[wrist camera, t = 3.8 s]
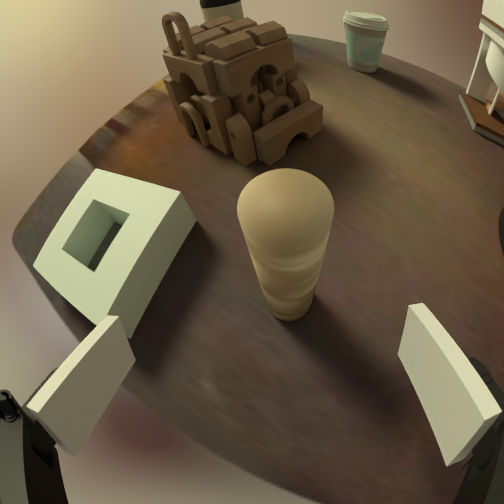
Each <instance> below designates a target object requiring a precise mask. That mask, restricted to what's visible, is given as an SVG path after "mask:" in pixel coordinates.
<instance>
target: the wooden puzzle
mask: <svg viewBox="0 0 504 504" xmlns="http://www.w3.org/2000/svg"><path fill="white" fill-rule="evenodd" d="M172 21H173V22H175V24H176V25H177V27H178V30H179V33H177V34H175V32H174V28H173V25H172ZM162 26H163V29H164V32H165V35H166V38H167V41H168V45H169V47H167V48H165V49H163V52H164V54H163V58H164V61H165V63H166V66H167V69H168V71H169V74H170V76H168V77H166V78H164V79H163V80H164V83H165V85H166V88H167V90H168V93H169V95H170V98H171V100H172V103H173V105H174V108H175V110H176V113H177V115H178V118H179V120H180V122H181V123H182V124H184V126H185V128H186V131H187V133H188V135H189V136H191V137H192V136H193V135H195V134H196V133H195V131H196V130H197V132H198V135H199V138H200V140H201V143H202V145H203V146H204V147H207V146H209V145H210V144H212V145H213V146H214V147H216V148H217V149H219V150H220V151H221V152H223V153H224V154H226V155H229V154H230V153H232V152H233V154H234V158H235V159H236V160H237V161H238V162H240V163H241V164H243V165H244V166H245V167H246V166H247V165H249V164H250V163H252V162H253V161H255V160H256V159H257V158H256V152H255V147H254V146H255V145H256V151H257V157H258V159H259V160H261V161H262V162H264V163H265V164H267V165H268V166H271V165H272V164H274V163H275V162H276V161H278V160H279V159H281V158H282V157H283V156H285V153H286V149H287V146H288V144H289V142H290V141H291V140H292V138H293V137H295V136H296V135H297V134H299V133H300V134H301V135H303V136H305V137H306V138H308V139H310V138H311V137H313V136H314V135H316V134H317V133H319V132H320V131H321V130H322V114H323V106H322V105H320V104H318V103H316V102H314V101H312V100H310V94H309V91H308V89H307V87H306V85H305V84H304V82H303V81H302V80H300V79H298V75H297V62H294V61H293V46H292V39H289V38H287V37H288V36H287V33H286V31H285V28H284V27H283V26H281V25H280V24H278V23H276V22H274V21H271V22H268V23H264V24H261V25H257V23H256V22H255V21H253V20H251V19H250V18H243V19H239V20H236V21H235V20H234V19H232V18H230V17H229V16H223V17H219V18H216V19H213V20H210V21H208V22H205V23H203V24H201V25H200V26H194V27H191V28H189V26H188V23H187V21H186V19H185V18H184V16H183V15H181V14H180V13H178V12H170V13H168V14H165V15H164V16H163V18H162ZM208 122H209V123H210V126H211V129H209V130H208V131H206V129H205V126H204V125H205V123H208Z"/></svg>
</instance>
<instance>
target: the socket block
mask: <svg viewBox="0 0 504 504" xmlns="http://www.w3.org/2000/svg"><path fill="white" fill-rule="evenodd" d="M196 221H197V220H196V218H195V217H194V215H193V213H192V211H191V210H190V208H189V206H188V204H187V202H186V201H185V199H184V197H183V195H182V193H181V192H179V191H176V190H172V189H169V188H166V187H162V186H159V185H155V184H152V183H148V182H144V181H141V180H137V179H133V178H130V177H126V176H122V175H119V174H115V173H111V172H107V171H103V170H100V169H95V170H94V172H93V173H92V174H91V175H90V177H89V178H88V179H87V181H86V182H85V183H84V185H83V186H82V187H81V189H80V190H79V191H78V193H77V194H76V196H75V197H74V199H73V200H72V201H71V203H70V204H69V206H68V207H67V209H66V210H65V212H64V213H63V215H62V216H61V218H60V219H59V221H58V223H57V224H56V226H55V227H54V229H53V231H52V232H51V234H50V236H49V237H48V239H47V241H46V243H45V244H44V246H43V248H42V250H41V251H40V253H39V255H38V257H37V259H36V261H35V263H34V265H33V266H34V268H35V269H36V270H37V271H38V272H39V273H40V274H41V275H42V276H43V277H44V278H45V279H46V280H47V281H48V282H49V283H50V284H51V285H52V286H53V287H54V288H55V289H56V290H57V291H58V292H59V293H60V294H61V295H62V296H63V297H64V298H65V299H67V300H68V301H69V302H70V303H71V304H72V305H73V306H74V307H75V308H76V309H78V310H79V311H80V312H81V313H82V314H83V315H84V316H86V317H87V318H88V319H89V320H90V321H92V322H93V323H94V324H95V325H96V326H97V325H98V324H99V323H100V322H101V321H102V320H103V319H104V318H105V317H106V316H107V315H109V316H119V317H120V320H121V323H122V326H123V329H124V331H125V334H126V337H127V338H130V339H131V337H132V335H133V333H134V331H135V329H136V327H137V325H138V323H139V321H140V319H141V317H142V315H143V313H144V312H145V310H146V308H147V306H148V304H149V302H150V300H151V298H152V297H153V295H154V293H155V291H156V289H157V287H158V286H159V284H160V282H161V280H162V278H163V277H164V275H165V273H166V271H167V270H168V268H169V266H170V264H171V263H172V261H173V259H174V257H175V256H176V254H177V252H178V251H179V249H180V247H181V246H182V244H183V242H184V241H185V239H186V237H187V236H188V234H189V232H190V231H191V229H192V227H193V226H194V224H195V222H196ZM88 267H89V268H90V269H89V268H88ZM92 270H93V271H92Z"/></svg>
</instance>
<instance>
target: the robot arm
mask: <svg viewBox="0 0 504 504" xmlns="http://www.w3.org/2000/svg"><path fill="white" fill-rule="evenodd" d="M499 234H500V240H501V245H502V249H503V253H504V207H503V209H502V211H501V213H500V218H499ZM398 356H399V357H400V359H401V361H402V363H403V365H404V367H405V370H406V372H407V374H408V376H409V378H410V380H411V382H412V384H413V386H414V388H415V390H416V393H417V395H418V397H419V399H420V401H421V404H422V406H423V408H424V411H425V413H426V415H427V417H428V420H429V422H430V425H431V427H432V430H433V432H434V434H435V437H436V440H437V442H438V445H439V447H440V450H441V453H442V455H443V458H444V461H445V464H446V467H447V466H449V465H451V464H454V463H456V462H458V461H460V460H462V459H464V458H465V457H466V456H467V455H468V454H469V452H470V451H471V450H472V453H473V455H474V456H473V457H472V458H471V459H470V460H469V461H468V462H467V463H466V464H465V465H464V466H463V468H462V469H461V472H463V471H464V470H465V469H466V468H467V467H468V469H467V471H466V474H465V477H464V479H463V482H462V484H461V487H460V489H459V491H458V494H457V496H456V498H455V500H454V502H453V504H504V393H503V392H502V390H501V389H500V387H499V386H498V384H497V383H496V382H494V379H493V377H492V376H491V374H490V375H489V372H488V370H487V369H486V368H485V366H484V365H483V364H482V363H481V362H479V361H478V360H477V359H475V358H474V357H472V358H469V359H467V358H466V356H465V355H464V353H463V352H462V351H461V349H460V348H459V347H458V345H457V344H456V343H455V342H454V340H453V339H452V338H451V336H450V335H449V334H448V333H447V331H446V330H445V329H444V328H443V326H442V325H441V324H440V323H439V321H438V320H437V319H436V318H435V317H434V315H433V314H432V313H431V312H430V311H429V309H428V308H427V307H426V306H425V305H424V304H423V303H420V304H413V305H409V307H408V312H407V317H406V322H405V326H404V331H403V335H402V339H401V344H400V348H399V351H398ZM135 361H136V360H135V357H134V355H133V352H132V350H131V347H130V345H129V342H128V339H127V337H126V334H125V331H124V329H123V326H122V323H121V320H120V317H119V316H109V315H107V316H106V317H105V318H104V319H103V320H102V321H101V322H100V323H99V324H98V325H97V326H96V327H95V328H94V330H93V331H92V332H91V333H90V334H89V335H88V336H87V337H86V338H85V339H84V340H83V341H82V342H81V343H80V345H79V346H78V347H77V348H76V349H75V350H74V351H73V352H72V353H71V354H70V356H69V357H68V358H67V359H66V360H65V361H64V362H63V364H61V366H59V367H58V368H56V369H55V370H53V371H52V372H51V373H50V374H49V375H48V376H47V378H46V380H44V381H43V382H42V383H41V386H39V387H38V388H37V389H36V390H35V392H34V393H33V394H32V395H31V397H30V398H29V399H28V400H27V401H26V403H25V404H24V405H23V406H22V407H20V405H19V404H18V403H17V401H16V400H15V399H14V397H13V396H12V395H11V393H10V391H8V390H0V504H68V500H67V496H66V493H65V489H64V484H63V480H62V475H61V470H60V464H59V458H58V452H57V450H56V448H55V447H54V445H55V444H56V443H57V444H58V445H59V446H60V447H61V448H62V449H63V450H64V451H65V452H67V453H69V454H71V455H73V456H75V457H77V456H78V454H79V453H80V451H81V449H82V447H83V446H84V444H85V442H86V441H87V439H88V437H89V435H90V434H91V432H92V430H93V429H94V427H95V425H96V423H97V422H98V420H99V419H100V417H101V415H102V414H103V412H104V410H105V409H106V407H107V405H108V404H109V402H110V400H111V399H112V397H113V396H114V394H115V392H116V391H117V389H118V388H119V386H120V384H121V383H122V381H123V380H124V378H125V377H126V375H127V373H128V372H129V370H130V369H131V367H132V366H133V364H134V362H135Z"/></svg>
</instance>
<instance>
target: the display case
mask: <svg viewBox="0 0 504 504" xmlns="http://www.w3.org/2000/svg"><path fill="white" fill-rule="evenodd" d="M479 28H480V29H481V30H482V31H484V33H483V38H482V42H481V46H480V49H479V53H478V57H477V60H476V64H475V67H474V70H473V73H472V76H471V79H470V82H469V85H468V88H467V91H466V92H464V91H461V93H460V95H459V100H460V102H461V104H462V106H463V108H464V110H465V112H466V115H467V117H468V119H469V121H470V124H471V126H472V129H473V131H475V132H478V133H480V134H482V135H484V136H486V137H488V138H490V139H492V140H494V141H496V142H498V143H500V144H502V145H503V146H504V0H484V3H483V9H482V15H481V20H480V25H479Z"/></svg>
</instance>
